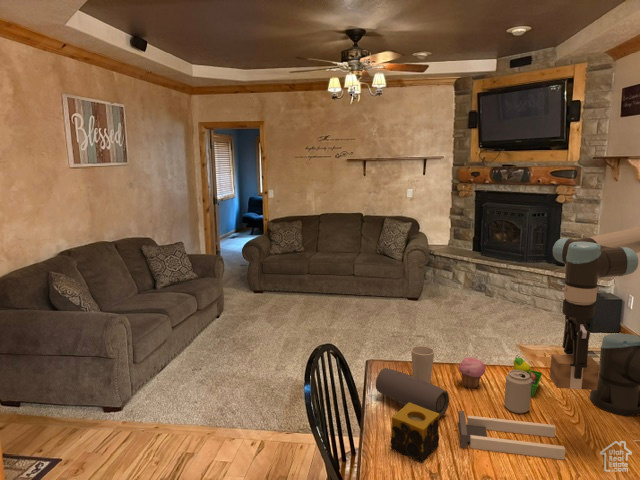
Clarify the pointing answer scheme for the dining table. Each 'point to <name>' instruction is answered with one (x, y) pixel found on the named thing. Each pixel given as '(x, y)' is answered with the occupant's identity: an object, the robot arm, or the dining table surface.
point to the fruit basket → (534, 375)
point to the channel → (514, 445)
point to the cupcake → (471, 371)
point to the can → (518, 391)
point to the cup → (422, 362)
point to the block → (562, 372)
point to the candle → (415, 432)
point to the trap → (468, 430)
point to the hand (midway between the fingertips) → (571, 382)
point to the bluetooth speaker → (412, 391)
